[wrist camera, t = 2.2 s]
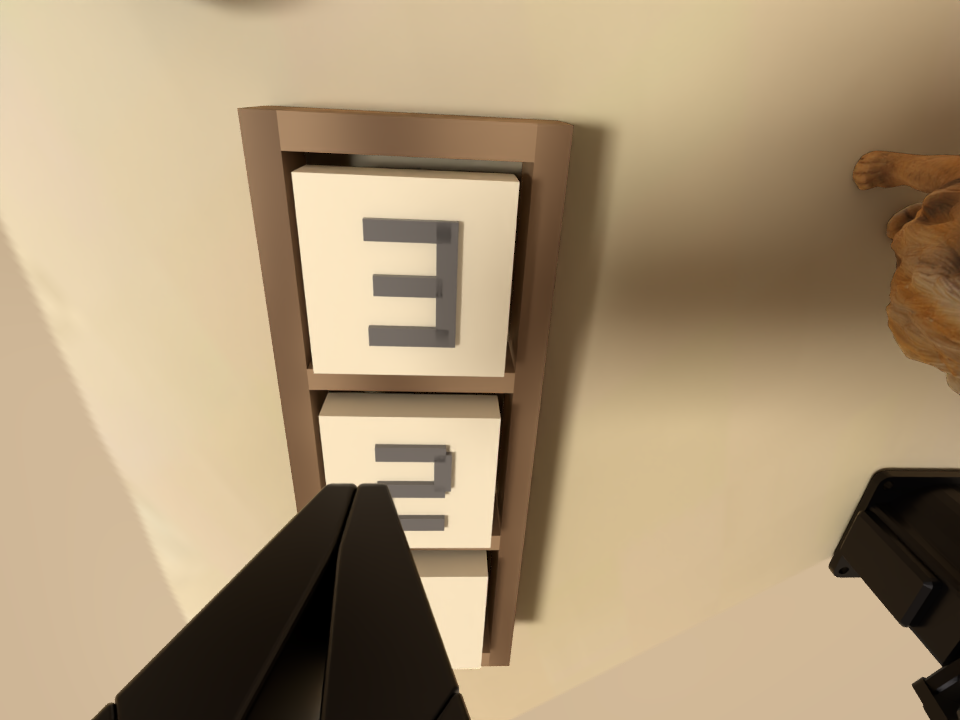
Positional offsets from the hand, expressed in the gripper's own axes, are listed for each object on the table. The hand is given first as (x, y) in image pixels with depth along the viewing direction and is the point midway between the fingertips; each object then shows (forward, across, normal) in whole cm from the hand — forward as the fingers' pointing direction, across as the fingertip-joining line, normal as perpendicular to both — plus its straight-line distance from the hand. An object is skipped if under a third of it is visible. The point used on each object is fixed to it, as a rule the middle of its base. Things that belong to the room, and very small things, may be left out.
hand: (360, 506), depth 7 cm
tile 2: (+10, 0, +7) cm, 13 cm away
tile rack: (+12, 0, +7) cm, 14 cm away
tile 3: (+10, 0, 0) cm, 10 cm away
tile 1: (+10, 0, +15) cm, 18 cm away
